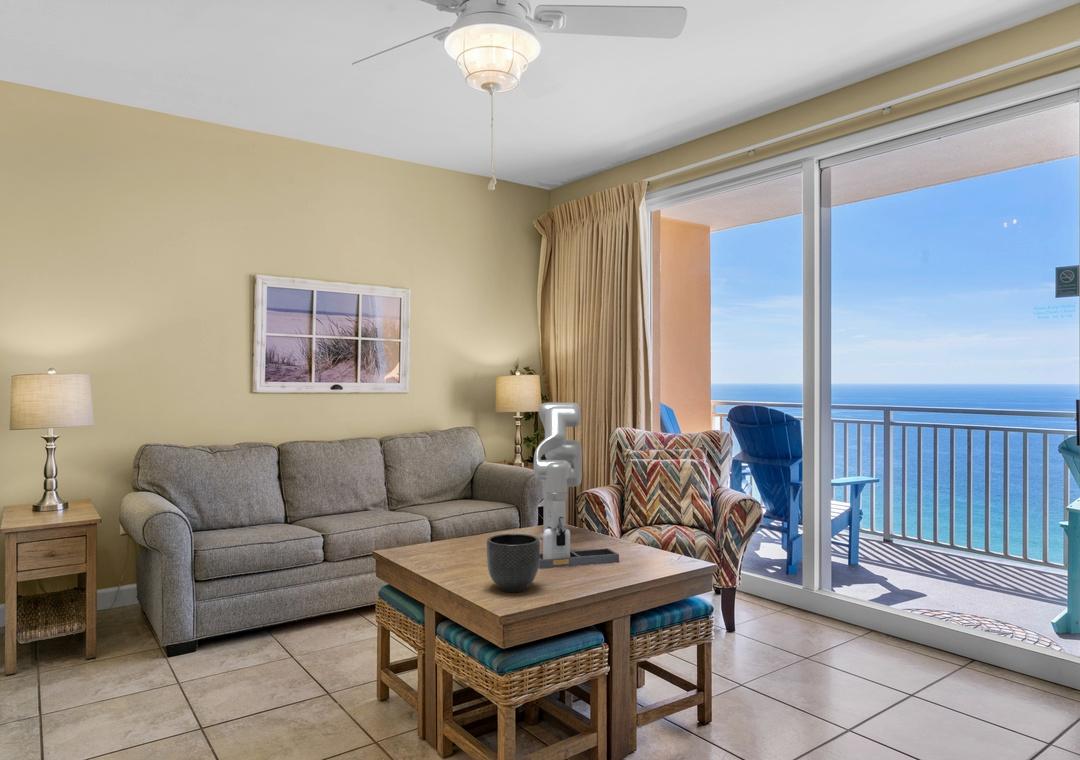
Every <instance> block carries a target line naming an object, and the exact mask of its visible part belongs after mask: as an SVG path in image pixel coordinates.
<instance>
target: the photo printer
mask: <svg viewBox="0 0 1080 760" xmlns="http://www.w3.org/2000/svg"><path fill="white" fill-rule="evenodd" d="M565 529H566V531H565V533H566V534H565V546H557V545H556V538H557V535H558V534H557V530H556V528H555V529H553V528H549V529H546V530H544V534H543V539H542V553H543V560H544V559H556V558H569V557H570V551H571V531H570V529H568V528H565ZM559 531H560V529H559Z"/></svg>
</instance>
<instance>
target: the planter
mask: <svg viewBox="0 0 1080 760" xmlns="http://www.w3.org/2000/svg"><path fill="white" fill-rule="evenodd" d="M540 545H541V541H540V537H538V536H535V535H532V534H525V533H503V534H496V535H492V536H489V537H488V538H487V539H486V561H487V570H488V574H489V576H490V579H491V580H492V582H493V584H495V585H496V586H497V587H498V589H499V590H500V591H502V592H504V593H519V592H524V591H526V590H527V589H528V587H529V585H530V584H532V582H533V581H534V580H535V578H536V576H537V574H538V571H539V568H538V565H539V553H540V551H541V550H540V548H541V547H540Z"/></svg>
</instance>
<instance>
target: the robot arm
mask: <svg viewBox="0 0 1080 760" xmlns="http://www.w3.org/2000/svg"><path fill="white" fill-rule="evenodd" d="M538 415H539V418H540V421H541V422H542V425H543V429H544V439H543V440H542V441H540V442H539V444H538V446H537V447H536V448H535V451H534V455H533V475H534V477H535V478H536V479H537V480H540V481H542V491H543V525H542V526H543V530H542V531H543V532H541V533H540V534H539V539H542V540H543V534H544V530H546V529H549V528H553V529H555V528H556V530H557V534H558V535H557V538H556V545H557V546H565V534H566V533H565V531H566V529H567V524H566V523H567V514H566V513H567V512H566V501H568V500H567V499H568V498H567V491H568V489H567V488H568V487H569V488H570V487H571V488H572V487H573V488H574V487H578V486H580V485H581V483H582V479H583V469H582V468H583V465H582V464H583V463H582V462H583V461H582V460H583V459H582V458H583V456H582V454H583V452H582V446H581V442H580V441H579V440H577V439H567V428H569V427H570V428H574V427H575V428H578V427H579V426H580V425H581V421H582V413H581V408H580V405H579V404H578V402H554V401H552V402H550V401H549V402H544V403H541V404H540V405H539V406H538ZM543 456H545V459H542V457H543ZM570 463H571V464H570ZM559 529H560V531H559Z"/></svg>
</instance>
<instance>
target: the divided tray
mask: <svg viewBox="0 0 1080 760" xmlns="http://www.w3.org/2000/svg"><path fill="white" fill-rule="evenodd" d="M614 562H617V563H620V554H619V553H618V552H616V551H614V550H612V548H608V547H606V548H594V549H593V548H592V549H581V550H570V557H569V558H556V559H544V560H543V552H541V553H539V565H538V570H541V569H543V570H544V569H554V567H557V568H566V567H565V566H569V567H579V566H578V565H581V566H589V565H590V564H593V565H602V564H603V565H604V563H605V564H614ZM590 566H591V565H590Z"/></svg>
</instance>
